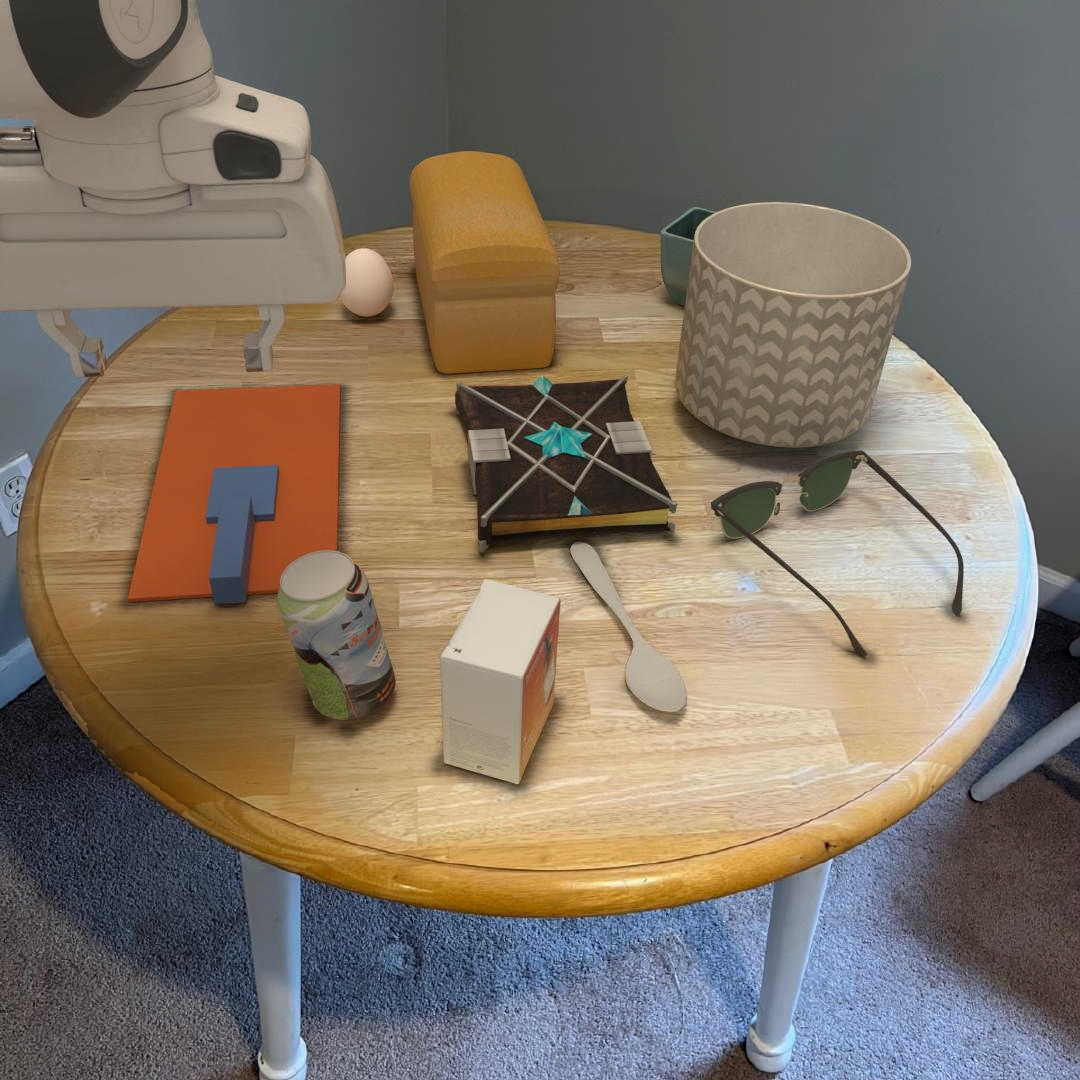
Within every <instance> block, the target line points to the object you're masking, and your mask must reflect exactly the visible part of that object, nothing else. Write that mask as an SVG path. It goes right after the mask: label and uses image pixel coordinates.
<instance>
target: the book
mask: <svg viewBox="0 0 1080 1080" xmlns="http://www.w3.org/2000/svg"><path fill="white" fill-rule="evenodd" d="M628 377H629V375H626V374H624V375H623V376H622V377H620V378H617V379H616V378H615V379H605V380H594V381H592V380H591V381H581V382H562V383H561V382H559V383H552V382H551V381H550V380H549V379H548V378H547V377H546V376H545V375H544V374H542V375H541V376H540V377H538V378H537V379H536V380H535V381H534V382H533V383H532V384H517V385H467V384H465V383H463V382H462V381H458V382H456V391H455V392H454V402H455V403H454V404H455V414H456V415H459V417H460V420H461V422H462V425H463V427H464V430H465V433H466V435H467V439H468V441H467V443H468V445H467V449H468V450H467V451H468V454H467V455H468V468H469V469H468V470H469V474H470V480H471V487H472V491H473V495H474V496H475V495H476V513H477V515H476V517H477V519H476V521H477V540H478V541H479V542H478V543H479V544H478V551H480V552H481V553H484V552H485V551H486V550H487V549H488V548H489V546H500V545H507V544H516V543H524V542H533V541H541V540H550V539H551V540H552V539H564V538H565V539H566V538H580V537H592V536H593V537H594V536H605V535H606V536H607V535H617V534H640V533H641V534H643V533H665V532H666V533H667V534H669V535H671V536H672V535H674V534H675V532H676V531H675V529H676V524H674V523H673V522H669V521H668V516H669V512H670V513H672V514H675V513H676V512H677V507H678V502H676V501H675V500H673V499H672V497H671V495H670V493H669V492H668V490H667V488H666V486H665V483H664V482H663V480H662V478H661V476H660V474H659V473H658V470H657V469H656V467H655V465H654V463H653V461H652V453H653V449H652V446H651V443H650V441H649V439H648V437H647V434H646V432H645V429H644V427H643V424H642V422H641V420H636V421H635V420H634V417H633V415H632V413H631V410H630V404H629V398H628V394H627V388H626V385H627V384H628V380H629V379H628Z"/></svg>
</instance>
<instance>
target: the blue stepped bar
mask: <svg viewBox="0 0 1080 1080" xmlns="http://www.w3.org/2000/svg"><path fill="white" fill-rule="evenodd" d="M278 478H279V467H278V465H267V466H244V467H222V468H214V471H213V477H212V483H211V489H210V494H209V500H208V506H207V512H206V521H207V524H213V523H217V529H216V536H215V542H214V548H213V555H212V561H211V568H210V574H209V581H210V586H211V590H212V595H213V597H212V599H213V603H214V605H225V604H226V605H227V604H241V603H246V602H247V596H248V595H247V587H248V579H249V570H250V562H251V553H252V544H253V536H254V527H255V521H273V520H275V510H276V499H277V489H278Z"/></svg>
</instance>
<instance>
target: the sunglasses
mask: <svg viewBox="0 0 1080 1080" xmlns="http://www.w3.org/2000/svg"><path fill="white" fill-rule="evenodd" d="M861 462H864V464H866V465H867V466H868V467H870V469H872V470H873V471H874V472H876V474H878V475H879V476H880V477H881V478H882V479H883V480H885V481H886V482H887V483H888V484H889V485H890V486H891V487H892V488H893V489H894V490H896V492H898V493H899V494H900V495H901V496H902V497H903V498H905V500H906V501H907V502H909V503H910V504H911V505H912V506H913V507H914V508H915V509H916V510H917V511H918V512H919V513H920V514H922V516H923V517H924V518H926V520H927V521H929V522H930V523H931V525H933V526H934V527H935V528H936V529H937V531H938V532H940V533H941V535H942V536H944V538H945V539H946V540H947V541H948V543H949V544H950V545H951V547H952V549H953V551H954V552H955V555H956V559H957V568H958V569H957V581H956V588H955V593H954V598H953V600H952V605H951V609H952V612H953V613H954V614H955V615H957V616H959V615H961V613H962V611H963V610H962V609H963V594H964V593H963V592H964V576H965V573H964V572H965V571H964V560H963V559H964V558H963V556H962V553H961V551H960V549H959V547H958V545H957V543H956V541H954V539H953V538H952V537H951V535H950V534H949V532H948V531H947V530H946V529H945V528H944V527H943V526H942V525H941V524H940V522H939V521H937V519H936V517H934V516H933V515H932V514H930V512H929V511H928V510H927V509H926V508H925V507H924V506H923V505H922V504H921V503H920V502H919V501H918V500H917V499H915V498H914V497H913V496H912V495H911V493H910V492H908V491H907V490H906V489H905V488H904V487H903V486H902V485H901V484H900V483H899V482H898V481H897V480H896V479H895V478H893V477H892V475H890V474H889V473H888V472H887V470H885V469H884V468H883V467H882V466H881V465H880V464H879V463H877V462H876V461H875V460H874V459H873V458H872V457H871V456H870V455H869V454H867V453H866V452H865V450H861V449H857V450H856V449H855V450H849V451H842V452H839V453H834V454H831V455H829V456H826V457H823V458H821V459H819V460H817V461H815V462H813V463H812V464H810V465H809V466H807V467H806V468H805V469H803V470H802V471H801V472H800V473H799V474H798V475H797V476H796V475H795V476H794V475H790V476H786V477H785V478H783V479H782V480H781V483H780V482H779V481H774V480H773V481H770V480H763V481H755V482H750V483H747V484H744V485H740V486H738V487H735V488H733V489H731V490H729V491H726V492H724V493H723V494H721V495H720V496H717V497H716V498H715V499H713V500H712V501H711V502H710V508H711V511H713V512H714V516H715V517H717V518H719V522H720V527H721V530H722V532H723V534H724V535H725V536H726V537H727V538H729V539H734V540H735V539H741V538H746V539H748V541H750V542H751V543H753V544H754V545H755V546H756V547H758V549H760V550H761V551H762V552H764V553H765V554H766V555H767V556H769V557H770V559H772V560H774V562H776V563H777V564H778V565H780V567H782V568H783V569H784V570H785V571H787V572H788V573H789V575H791V576H792V577H794V578H795V579H796V580H797V581H799V582H800V583H801V584H802V585H803V586H804V587H805V588H807V589H808V590H810V591H811V592H812V593H813V594H814V595H815V596H816V597H817V598H818V599H819V600H820V601H822V602H823V604H825V605H826V606H827V607H828V608H829V610H830V611H831V612H832V613H833V614H834V615H835V617H836V618H837V619H838V621H839V623H840V624H841V626H842V628H843V629H844V631H845V633H846V635H847V637H848V639H849V642H850V644H851V647H852V648H853V650H854V652H855V653H857V654H859V655H861V656H863V657H867V656H868V653H867V651H866V650H865V649H864V648H863V646H862V645H861V643H860V642H859V640H858V639H857V637H856V635H855V634H854V633H853V631H852V630H851V628H850V626H848V623H847V622H846V620H844V618H843V617H842V615H841V614H840V613H839V611H838V610H837V609H836V608H835V606H834V605H833V604H832V603H831V602H830V601H829V599H827V598H826V596H824V595H823V594H822V593H821V592H820V591H819V590H818V589H817V588H815V586H813V585H812V584H811V583H810V582H809V581H807V579H806V578H804V577H803V576H802V575H800V573H798V572H797V571H796V570H795V569H794V568H793V567H791V566H790V565H789V564H788V563H787V562H786V561H784V560H783V559H782V558H781V557H780V556H778V555H777V554H776V553H775V552H774V551H773V550H771V549H770V548H769V547H768V546H766V545H765V544H764V543H763V542H762V541H761V540H760V539H758V538H757V537H756V536H755V535H754V534H755V533H757V532H759V531H760V530H761V529H762V528H764V527H765V526H766V525H767V523H768V522H769V521H770V519H771V518H772V516H773V515H774V516H778V515H779V513H780V510H781V502H780V501H779V502H777V496H779V495H780V494H781V492H782V489H783V486H784V485H785V484H786V483H788V482H797V484H798V485H799V487H800V495H799V502H800V504H801V505H802V507H803V509H804V510H805V511H807V512H815V511H818V510H821V509H823V508H826V507H828V506H829V505H832V504H833V503H835V502H836V501H837V500H838V499H839V498H840V497H841V496H843V494H844V492H845V490H846V489H847V487H848V484H849V482H850V480H851V476H852V474H853V470H856V469H857V468H858V467H859V465H860V463H861Z"/></svg>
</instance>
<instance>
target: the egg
mask: <svg viewBox="0 0 1080 1080" xmlns="http://www.w3.org/2000/svg"><path fill="white" fill-rule="evenodd" d="M345 262H346V286H345V288H344V290H343V291H342V292H341V294H340V295H339V296H338V297H339V298H340V300H341V303H343V305H344V306H345V308H347V309H348V311H350V312H351V313H353V314H355V315H357V316H360V317H364V318H365V317H373V316H377V315H379V314H380V313H382V312H383V311H384V310H385V309H386V308H387V307H388V305H389V304H390V303H391V300H392V298H393V295H394V289H395V287H394V277H393V274H392V271H391V268H390V266H389V265H388V262H386V260H385V259H384V257H382V255H381V254H380V253H378V252H377V251H375V250H373V249H370V248H365V247H361V248H357V249H355V250H352V251H351V252H350V253H348V254H347V255H345Z"/></svg>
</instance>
